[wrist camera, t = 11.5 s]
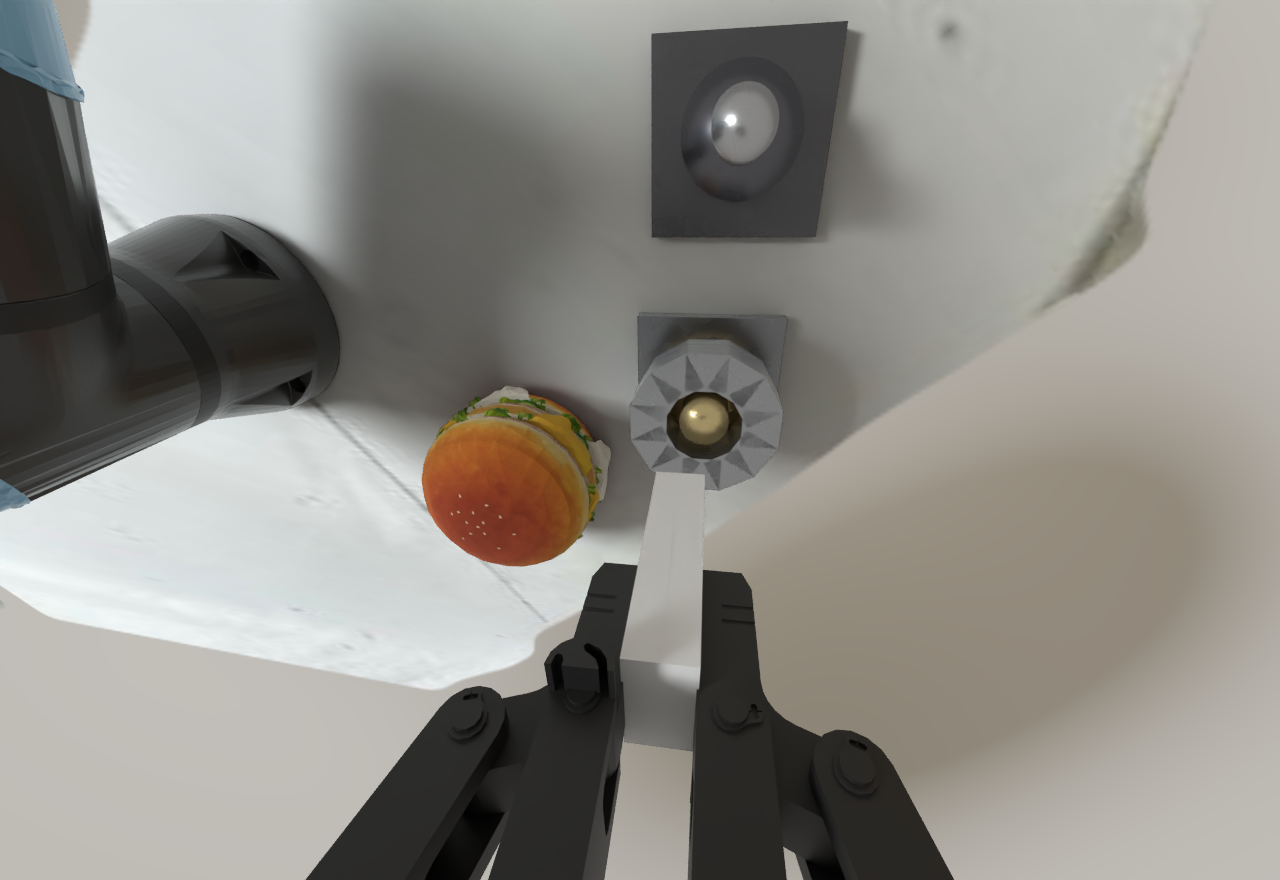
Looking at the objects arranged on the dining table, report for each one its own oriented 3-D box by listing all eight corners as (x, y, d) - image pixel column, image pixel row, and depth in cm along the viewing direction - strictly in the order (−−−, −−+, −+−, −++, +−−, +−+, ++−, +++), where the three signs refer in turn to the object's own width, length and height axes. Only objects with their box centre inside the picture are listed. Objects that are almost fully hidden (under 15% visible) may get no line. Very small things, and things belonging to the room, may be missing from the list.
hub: (641, 437, 37) (625, 485, 31) (639, 312, 33) (620, 339, 27) (768, 445, 36) (777, 496, 30) (785, 316, 31) (800, 345, 25)
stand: (653, 235, 30) (630, 250, 22) (654, 39, 26) (624, -30, 18) (812, 235, 29) (846, 251, 21) (843, 27, 24) (901, -53, 16)
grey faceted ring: (614, 424, 32) (605, 444, 30) (682, 312, 28) (679, 324, 25) (724, 486, 33) (724, 511, 31) (805, 387, 29) (814, 406, 26)
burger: (441, 385, 38) (358, 442, 30) (598, 369, 35) (557, 426, 27) (490, 517, 44) (433, 596, 35) (627, 512, 41) (602, 597, 33)
